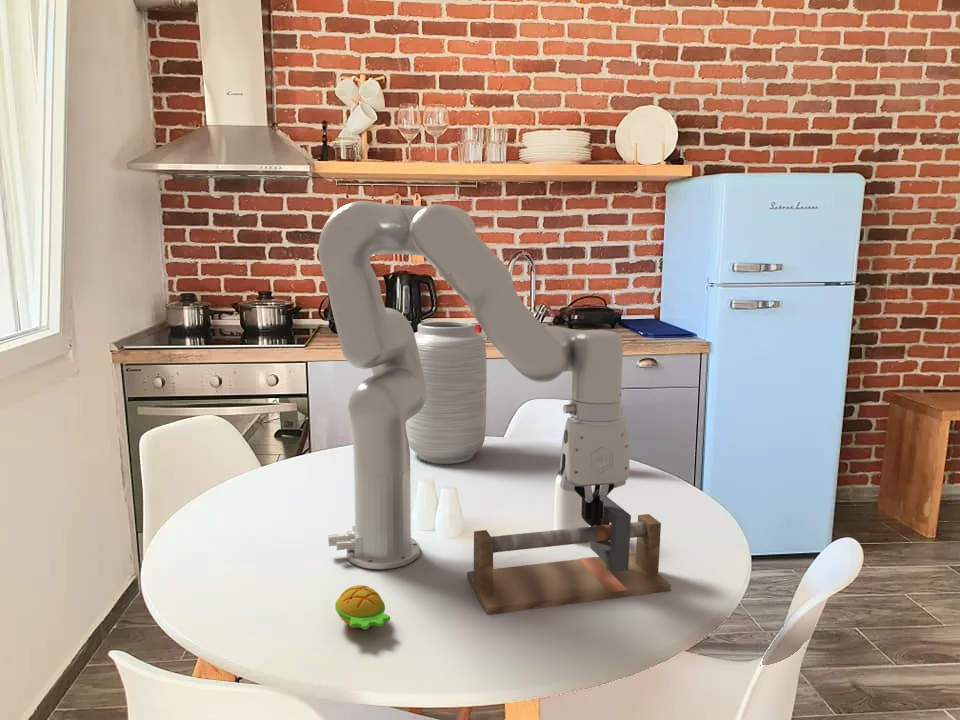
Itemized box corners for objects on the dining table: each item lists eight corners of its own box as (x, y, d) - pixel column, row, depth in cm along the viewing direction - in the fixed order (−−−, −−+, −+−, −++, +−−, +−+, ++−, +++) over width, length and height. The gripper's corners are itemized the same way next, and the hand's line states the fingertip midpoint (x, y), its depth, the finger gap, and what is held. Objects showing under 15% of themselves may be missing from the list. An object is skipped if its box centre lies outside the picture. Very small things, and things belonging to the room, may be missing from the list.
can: (587, 543, 131) (589, 480, 129) (551, 540, 132) (553, 477, 130) (589, 529, 137) (591, 469, 135) (555, 526, 138) (557, 466, 136)
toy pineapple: (374, 605, 108) (374, 572, 107) (398, 638, 99) (397, 602, 98) (329, 616, 105) (328, 581, 104) (349, 651, 96) (348, 613, 95)
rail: (487, 614, 106) (487, 552, 104) (467, 577, 117) (467, 521, 115) (670, 590, 113) (673, 532, 112) (635, 558, 125) (637, 505, 123)
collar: (614, 571, 112) (616, 516, 110) (590, 548, 120) (592, 496, 119) (628, 570, 112) (630, 515, 111) (603, 546, 121) (605, 495, 119)
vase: (452, 440, 197) (453, 317, 191) (501, 457, 181) (504, 325, 176) (390, 453, 184) (388, 323, 178) (437, 473, 169) (437, 331, 163)
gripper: (559, 418, 106) (556, 536, 109) (651, 413, 110) (645, 527, 113) (541, 407, 113) (539, 518, 116) (628, 402, 117) (624, 510, 120)
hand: (591, 522), depth 114 cm, fingers closed
